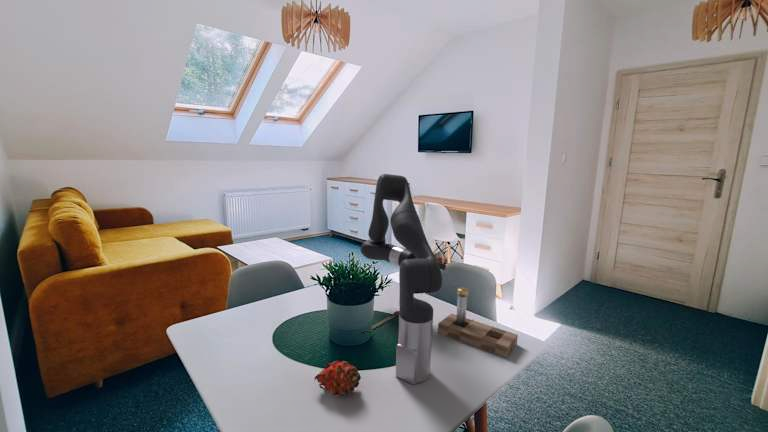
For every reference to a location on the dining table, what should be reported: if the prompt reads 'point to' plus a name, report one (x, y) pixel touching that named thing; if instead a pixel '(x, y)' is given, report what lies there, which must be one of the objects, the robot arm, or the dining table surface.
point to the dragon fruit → (339, 377)
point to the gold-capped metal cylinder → (461, 306)
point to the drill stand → (479, 335)
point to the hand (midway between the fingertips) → (438, 270)
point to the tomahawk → (385, 320)
